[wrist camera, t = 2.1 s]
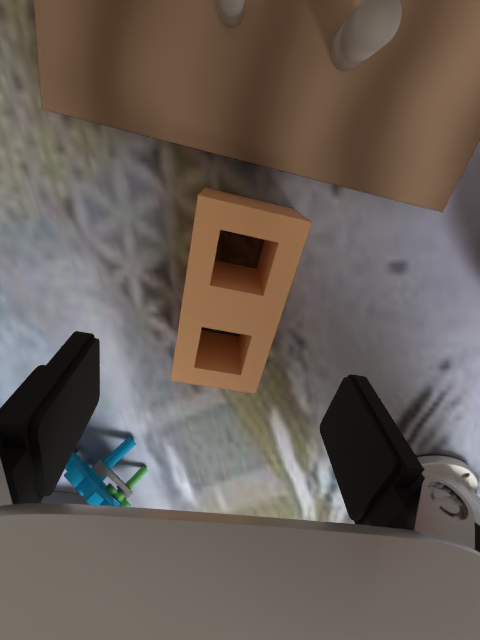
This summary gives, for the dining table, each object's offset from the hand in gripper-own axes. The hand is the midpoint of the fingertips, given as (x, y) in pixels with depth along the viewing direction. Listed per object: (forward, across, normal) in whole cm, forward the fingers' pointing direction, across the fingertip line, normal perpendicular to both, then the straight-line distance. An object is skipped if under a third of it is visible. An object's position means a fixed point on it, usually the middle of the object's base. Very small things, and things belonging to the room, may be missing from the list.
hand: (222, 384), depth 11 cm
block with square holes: (+12, -1, +1) cm, 12 cm away
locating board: (+12, -1, -13) cm, 18 cm away
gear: (+12, +8, +22) cm, 26 cm away
